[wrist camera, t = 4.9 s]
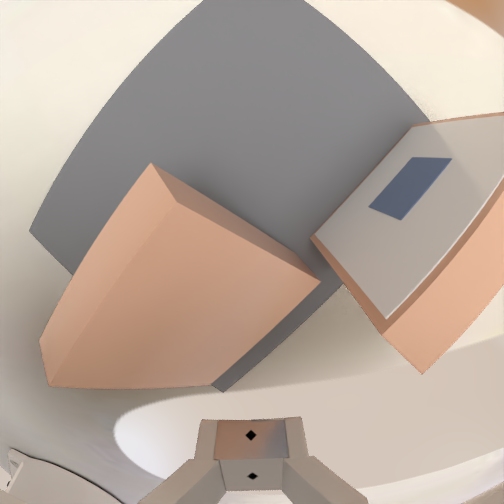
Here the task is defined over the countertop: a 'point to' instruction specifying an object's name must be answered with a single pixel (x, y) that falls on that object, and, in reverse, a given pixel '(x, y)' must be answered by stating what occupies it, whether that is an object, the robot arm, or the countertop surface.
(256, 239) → the tile
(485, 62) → the countertop surface
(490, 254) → the tile
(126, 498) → the countertop surface
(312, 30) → the mat
